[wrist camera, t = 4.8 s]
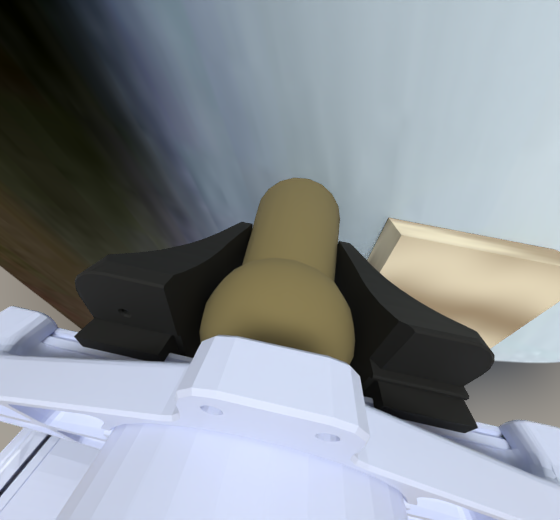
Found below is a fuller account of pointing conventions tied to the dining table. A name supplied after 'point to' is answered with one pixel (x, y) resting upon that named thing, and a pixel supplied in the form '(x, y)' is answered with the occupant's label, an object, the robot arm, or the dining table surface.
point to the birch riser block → (469, 275)
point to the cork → (287, 277)
